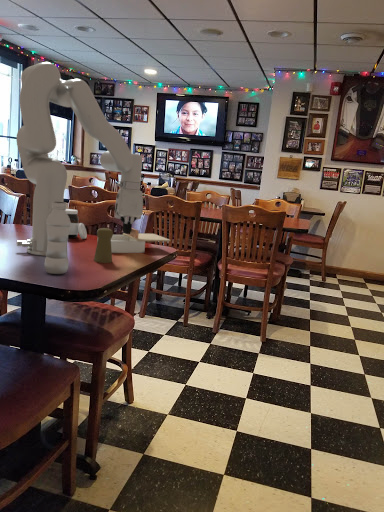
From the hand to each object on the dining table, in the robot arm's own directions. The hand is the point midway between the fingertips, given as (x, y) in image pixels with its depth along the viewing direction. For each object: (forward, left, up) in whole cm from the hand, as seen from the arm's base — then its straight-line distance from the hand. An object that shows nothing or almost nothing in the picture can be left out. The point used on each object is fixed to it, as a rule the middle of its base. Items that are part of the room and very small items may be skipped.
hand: (126, 233), depth 157 cm
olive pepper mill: (-17, -19, -7) cm, 26 cm away
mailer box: (-2, 0, -6) cm, 7 cm away
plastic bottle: (-36, -33, -7) cm, 49 cm away
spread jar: (-14, +25, -7) cm, 29 cm away
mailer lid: (+9, 0, -2) cm, 9 cm away
